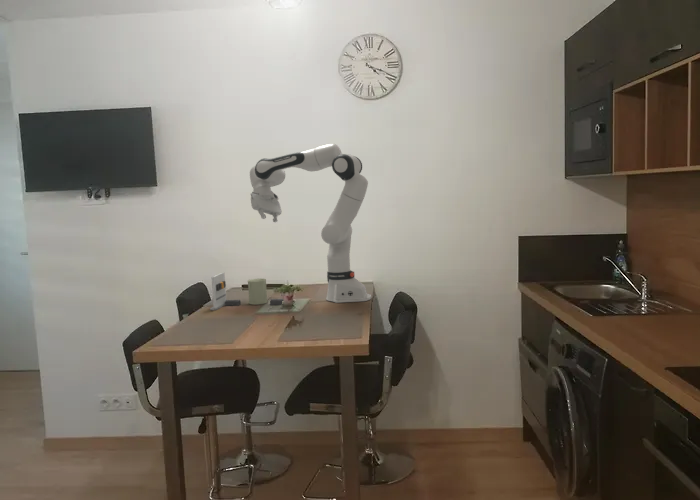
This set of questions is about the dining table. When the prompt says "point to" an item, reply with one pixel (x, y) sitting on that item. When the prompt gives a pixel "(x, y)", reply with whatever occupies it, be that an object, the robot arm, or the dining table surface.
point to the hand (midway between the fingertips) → (269, 220)
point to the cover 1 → (232, 302)
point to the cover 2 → (276, 301)
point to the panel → (218, 291)
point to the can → (257, 291)
